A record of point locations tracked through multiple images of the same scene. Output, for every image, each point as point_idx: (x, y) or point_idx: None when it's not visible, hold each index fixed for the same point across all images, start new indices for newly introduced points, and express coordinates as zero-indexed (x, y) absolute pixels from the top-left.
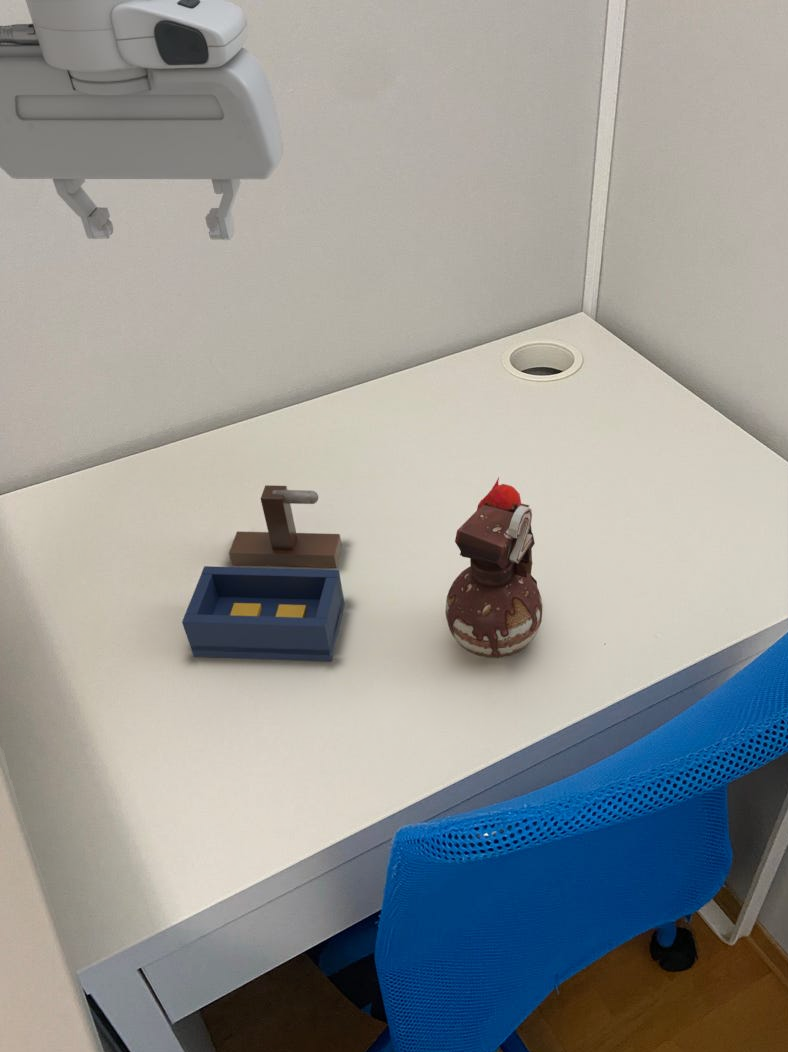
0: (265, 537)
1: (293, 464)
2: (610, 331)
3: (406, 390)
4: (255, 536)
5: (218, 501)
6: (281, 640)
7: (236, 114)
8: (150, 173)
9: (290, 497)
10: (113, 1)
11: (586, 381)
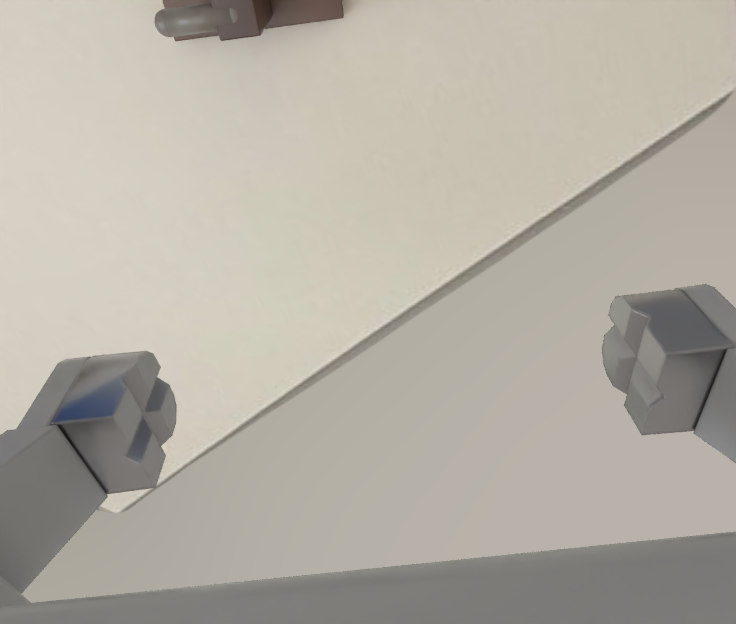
0: (290, 9)
1: (334, 215)
2: None
3: (249, 373)
4: (307, 8)
5: (413, 115)
6: None
7: None
8: (266, 619)
9: (199, 6)
10: None
11: None
